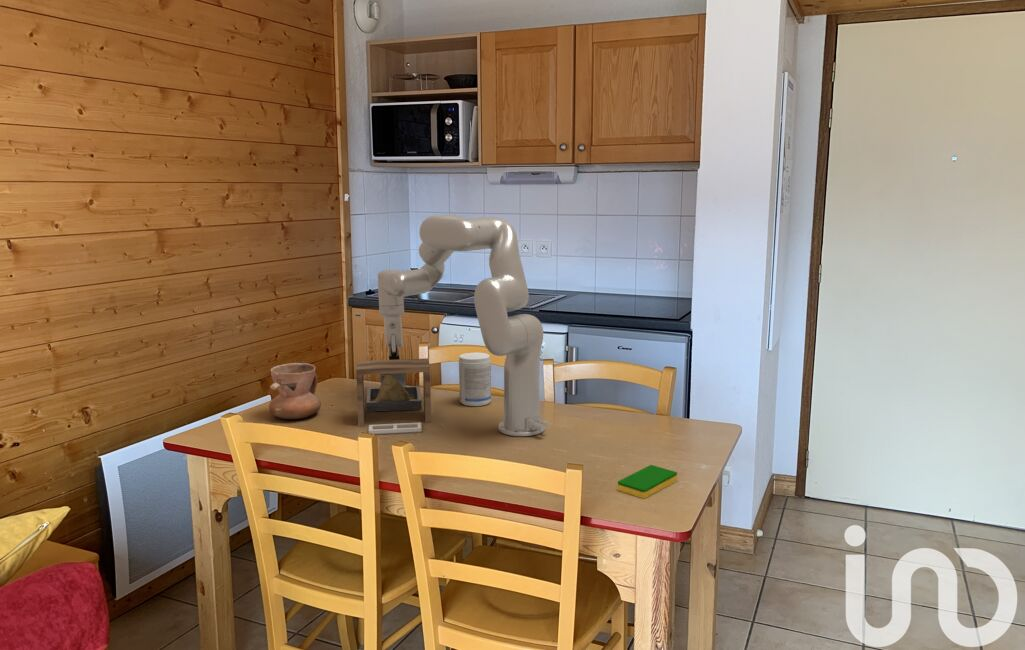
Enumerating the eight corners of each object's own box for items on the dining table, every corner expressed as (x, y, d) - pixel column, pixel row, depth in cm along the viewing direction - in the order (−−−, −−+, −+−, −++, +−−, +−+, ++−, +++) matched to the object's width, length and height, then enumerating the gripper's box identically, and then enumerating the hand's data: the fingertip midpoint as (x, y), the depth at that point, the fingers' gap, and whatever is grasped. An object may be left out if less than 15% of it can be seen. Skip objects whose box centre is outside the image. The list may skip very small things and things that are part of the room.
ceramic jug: (294, 427, 214) (291, 377, 211) (255, 420, 220) (252, 371, 217) (337, 410, 229) (335, 363, 226) (299, 403, 236) (297, 358, 233)
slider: (421, 409, 229) (421, 378, 228) (366, 411, 227) (365, 381, 225) (418, 386, 253) (417, 359, 251) (368, 389, 251) (367, 361, 249)
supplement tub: (497, 402, 237) (497, 355, 234) (474, 409, 230) (474, 360, 228) (476, 396, 244) (475, 350, 241) (453, 402, 237) (452, 355, 234)
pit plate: (421, 432, 209) (421, 428, 209) (368, 435, 207) (368, 430, 207) (420, 426, 214) (420, 422, 214) (369, 429, 212) (369, 425, 212)
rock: (422, 398, 233) (396, 389, 238) (413, 380, 227) (386, 371, 232) (402, 426, 228) (376, 416, 232) (393, 409, 222) (366, 399, 226)
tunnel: (431, 422, 218) (429, 366, 215) (358, 425, 215) (356, 369, 212) (429, 411, 228) (428, 358, 225) (359, 415, 225) (357, 361, 222)
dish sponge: (677, 482, 177) (677, 471, 176) (644, 500, 167) (644, 490, 166) (650, 474, 181) (651, 464, 181) (616, 491, 171) (616, 481, 171)
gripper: (404, 313, 233) (407, 373, 236) (403, 306, 248) (406, 362, 251) (379, 314, 232) (382, 374, 235) (379, 307, 247) (382, 364, 250)
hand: (394, 368), depth 243 cm, fingers closed
